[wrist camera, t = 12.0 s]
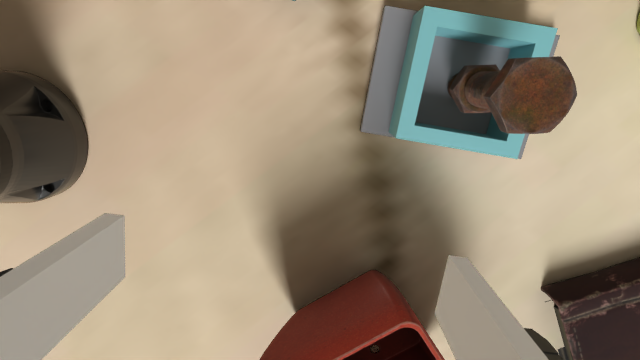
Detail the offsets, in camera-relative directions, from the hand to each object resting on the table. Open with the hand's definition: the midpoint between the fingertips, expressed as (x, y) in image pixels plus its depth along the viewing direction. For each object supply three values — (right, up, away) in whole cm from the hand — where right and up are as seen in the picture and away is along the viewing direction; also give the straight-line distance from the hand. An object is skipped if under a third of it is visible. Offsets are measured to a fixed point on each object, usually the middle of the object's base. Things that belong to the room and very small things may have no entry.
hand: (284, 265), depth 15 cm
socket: (+16, +14, +26) cm, 33 cm away
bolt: (+16, +13, +24) cm, 32 cm away
